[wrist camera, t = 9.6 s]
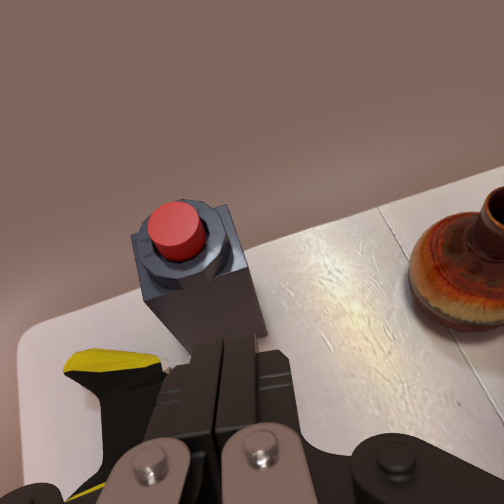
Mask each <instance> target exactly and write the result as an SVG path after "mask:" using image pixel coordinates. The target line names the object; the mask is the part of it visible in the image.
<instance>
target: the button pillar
mask: <svg viewBox="0 0 504 504" xmlns="http://www.w3.org/2000/svg"><path fill="white" fill-rule="evenodd" d="M174 202H184V203H187V204H189V205H191V206H192V207H193V208H194V209H195V210H196V211H197V213H198V216H199V218H200V221H201V223H202V225H203V228H204V230H205V234H206V241H205V244H204V247H203V249H202V250H201V251H200V252H199V254H197V255H196V256H195V257H193V258H192V259H189V260H187V261H182V262H174V261H170V260H168V259H166V258H165V257H163V256H162V255H161V253H160V252H159V250H158V249H157V247H156V246H155V244H154V242H153V241H152V239H151V238H150V236H149V234H148V221H149V219H150V217H151V215H152V214H151V215H150V216H149V217H148V218H147V219H145V220H144V222H143V223H142V225H141V228H140V230H139V232H138V233H135V234H132V235H131V241H132V246H133V251H134V256H135V261H136V266H137V270H138V276H139V281H140V286H141V291H142V296H143V301H144V302H145V304H146V305H147V306H148V307H149V308H150V309H151V310H152V312H153V313H154V314H155V315H156V316H157V317H158V318H159V319H160V321H161V322H162V323H163V324H164V325H165V326H166V327H167V329H168V330H169V331H170V332H171V333H172V334H173V335H174V336H175V338H176V339H177V340H178V341H179V342H180V343H181V344H182V346H183V347H184V348H185V349H186V350H187V351H188V352H189V353H190V355H191V356H192V352H193V348H194V345H195V343H197V342H203V341H209V340H216V339H222V338H224V339H225V340H226V338H228V337H234V336H240V335H247V334H253V333H255V335H256V339H257V338H260V337H263V336H266V335H268V334H267V330H266V327H265V323H264V320H263V316H262V313H261V309H260V306H259V302H258V299H257V295H256V292H255V288H254V285H253V281H252V278H251V274H250V271H249V267H248V264H247V261H246V258H245V255H244V252H243V250H242V247H241V244H240V241H239V238H238V235H237V232H236V229H235V227H234V223H233V220H232V217H231V214H230V212H229V209H228V206H227V204H225V205H222V206H219V207H216V208H211V207H210V206H209V205H207V204H205V203H204V202H202V201H194V200H186V199H181V200H178V201H174Z"/></svg>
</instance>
